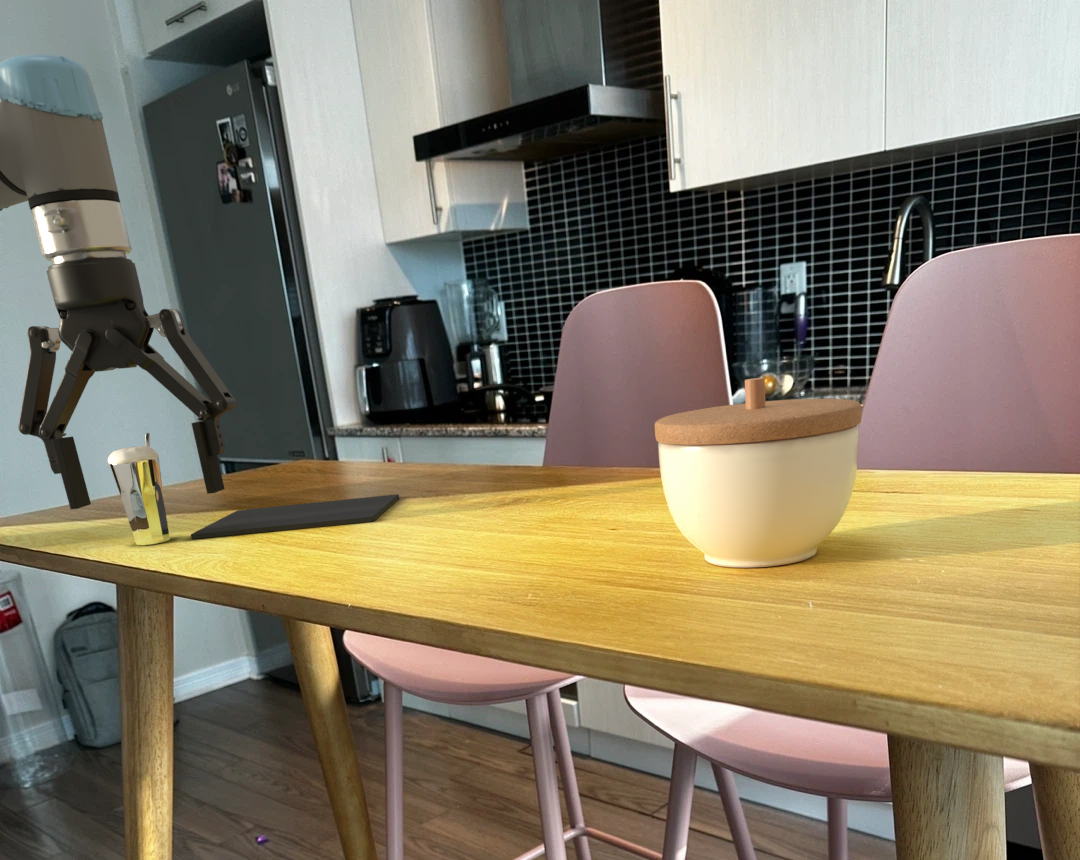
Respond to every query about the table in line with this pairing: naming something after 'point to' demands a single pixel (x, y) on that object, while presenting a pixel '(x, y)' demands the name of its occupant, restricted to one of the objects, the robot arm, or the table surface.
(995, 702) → the table surface
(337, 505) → the mat
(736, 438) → the lidded bowl
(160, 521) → the milkshake
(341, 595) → the table surface
